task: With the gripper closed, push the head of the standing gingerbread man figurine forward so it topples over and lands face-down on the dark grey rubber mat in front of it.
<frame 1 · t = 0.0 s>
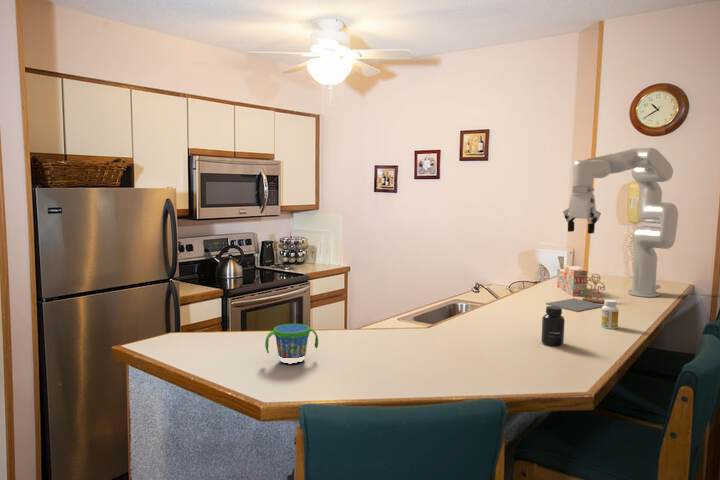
hand: (580, 232, 221), 31 cm above the counter, tool pointing down, fingers open, 9 cm apart
gingerbread man figurine: (594, 301, 233), on the counter, touching mat
stack of blocks: (571, 292, 255), on the counter
snack cup: (292, 362, 159), on the counter
supplement bottle: (552, 344, 174), on the counter
supplement bottle 2: (609, 327, 193), on the counter
mat: (575, 305, 227), on the counter
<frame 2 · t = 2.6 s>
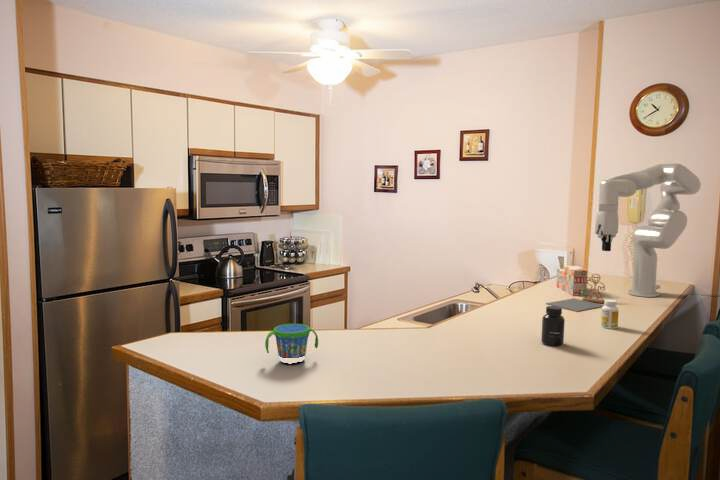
hand: (606, 250, 233), 22 cm above the counter, tool pointing down, fingers closed
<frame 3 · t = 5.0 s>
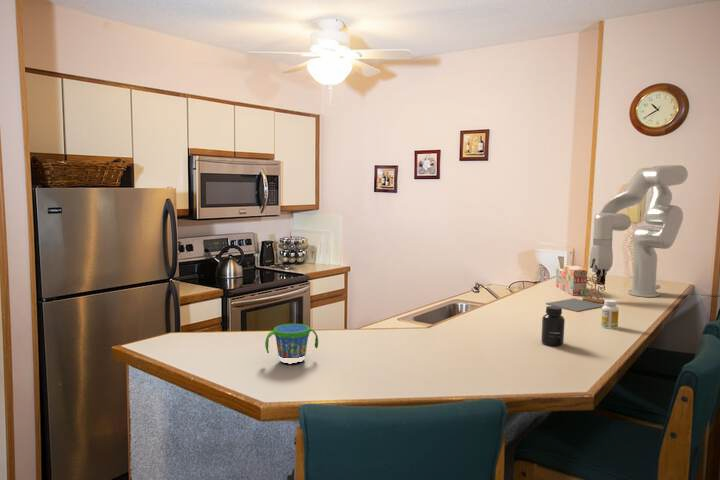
hand: (600, 284, 234), 7 cm above the counter, tool pointing down, fingers closed
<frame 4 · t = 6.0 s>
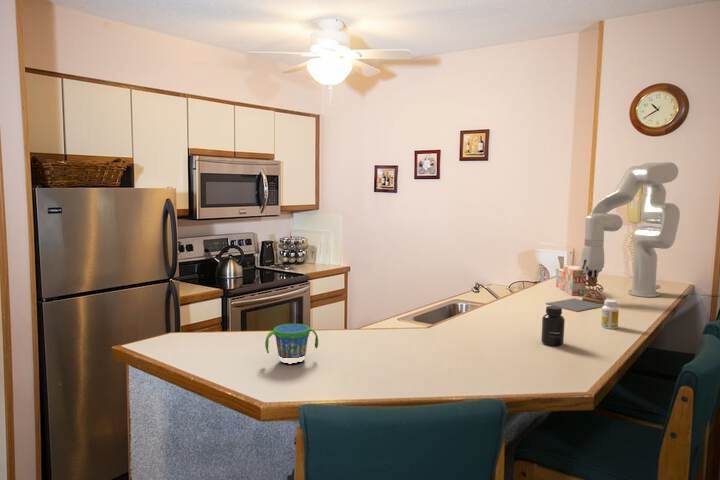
hand: (592, 285, 231), 7 cm above the counter, tool pointing down, fingers closed
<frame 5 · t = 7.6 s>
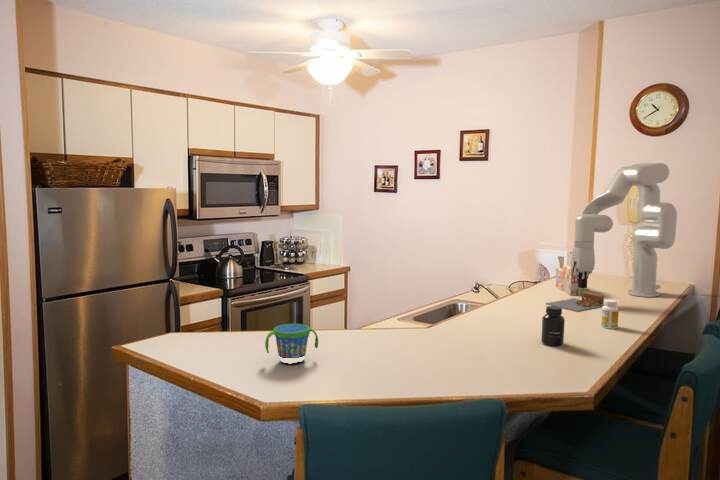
hand: (582, 287, 228), 7 cm above the counter, tool pointing down, fingers closed
gingerbread man figurine: (593, 297, 231), point 2 cm above the counter, touching mat
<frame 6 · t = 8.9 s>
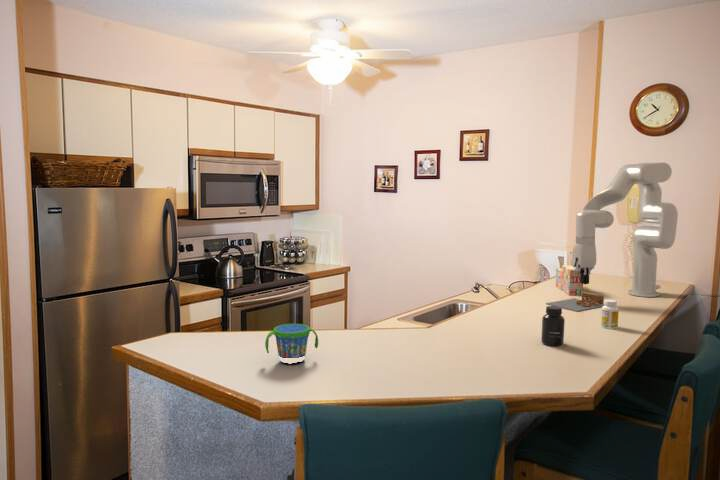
hand: (584, 283, 228), 9 cm above the counter, tool pointing down, fingers closed
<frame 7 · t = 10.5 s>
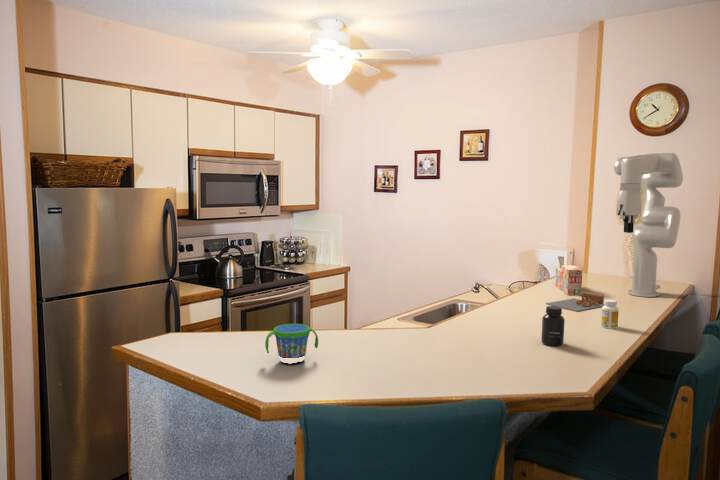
hand: (628, 232, 221), 31 cm above the counter, tool pointing down, fingers closed
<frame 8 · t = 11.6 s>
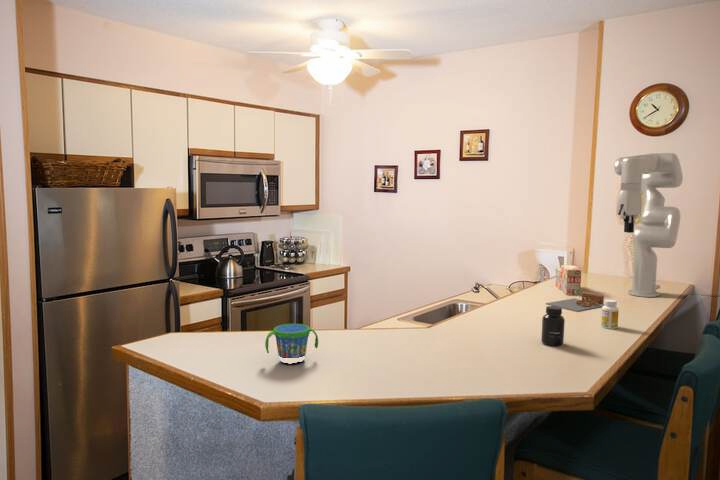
hand: (628, 232, 221), 31 cm above the counter, tool pointing down, fingers closed
at the end: gingerbread man figurine tilted 97°; gingerbread man figurine inside the target area (5.8 cm from its centre), point 2.3 cm above the counter; the gripper is holding nothing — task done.
